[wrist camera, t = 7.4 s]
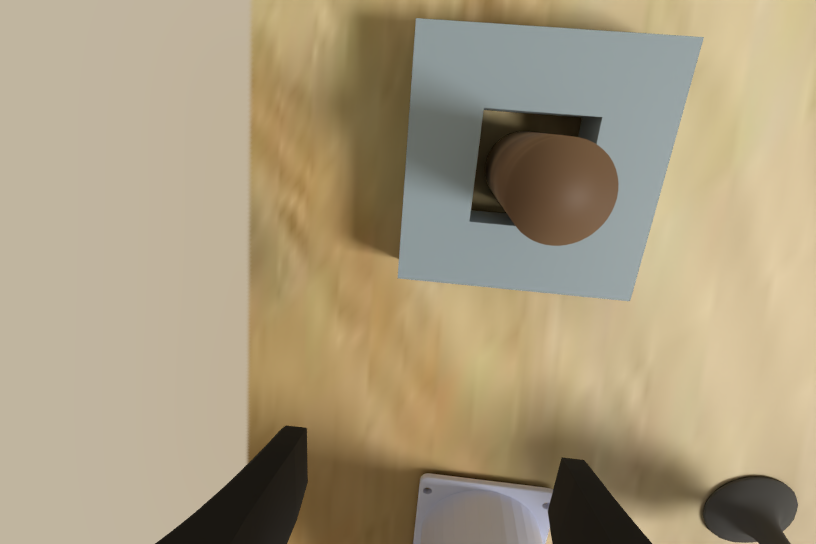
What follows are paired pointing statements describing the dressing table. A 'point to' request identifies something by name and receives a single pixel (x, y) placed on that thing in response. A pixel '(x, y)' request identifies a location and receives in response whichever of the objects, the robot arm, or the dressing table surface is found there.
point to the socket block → (548, 95)
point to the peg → (552, 185)
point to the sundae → (751, 510)
